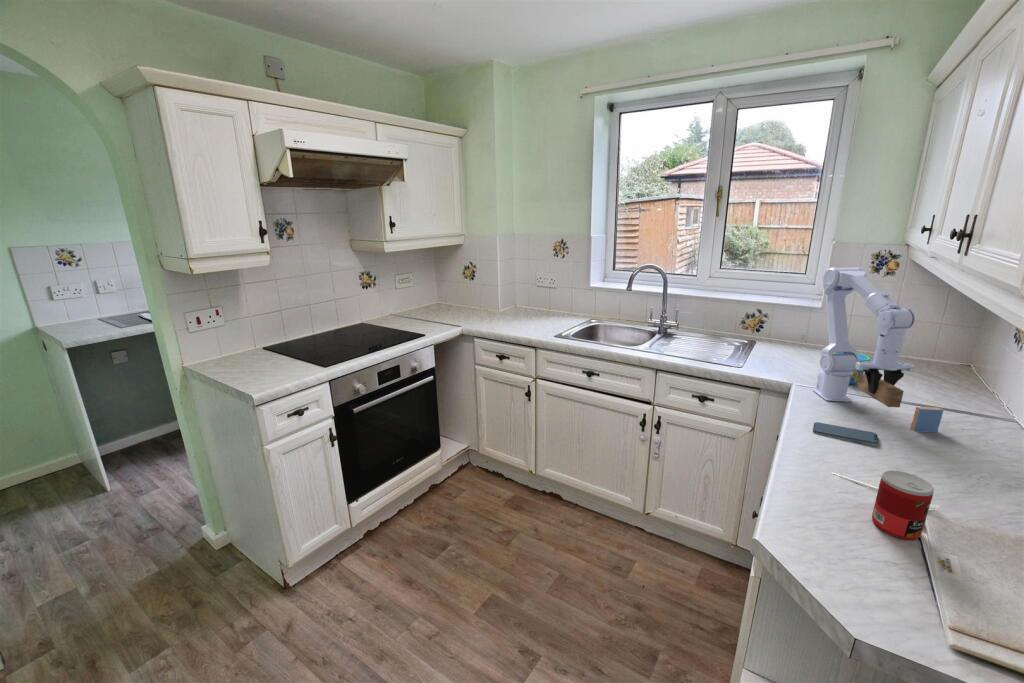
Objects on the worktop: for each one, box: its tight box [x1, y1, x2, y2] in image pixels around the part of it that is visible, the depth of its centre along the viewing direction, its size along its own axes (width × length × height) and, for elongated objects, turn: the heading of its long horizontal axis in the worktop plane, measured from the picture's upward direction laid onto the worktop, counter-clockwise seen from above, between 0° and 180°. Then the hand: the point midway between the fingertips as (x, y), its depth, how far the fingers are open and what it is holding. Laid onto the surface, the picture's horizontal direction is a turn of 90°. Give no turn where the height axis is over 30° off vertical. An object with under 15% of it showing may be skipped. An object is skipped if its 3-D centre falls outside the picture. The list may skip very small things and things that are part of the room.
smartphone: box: [812, 421, 879, 447], centre depth 130 cm, size 8×2×15 cm
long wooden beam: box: [856, 372, 905, 408], centre depth 135 cm, size 14×3×5 cm, turn 175°
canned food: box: [871, 470, 935, 541], centre depth 91 cm, size 8×8×11 cm
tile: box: [910, 406, 944, 433], centre depth 131 cm, size 2×6×7 cm, turn 83°
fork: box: [831, 472, 942, 512], centre depth 104 cm, size 3×20×2 cm, turn 37°
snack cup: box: [833, 352, 872, 385], centre depth 168 cm, size 16×10×10 cm
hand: (878, 392), depth 135 cm, fingers closed on long wooden beam, 3 cm apart
